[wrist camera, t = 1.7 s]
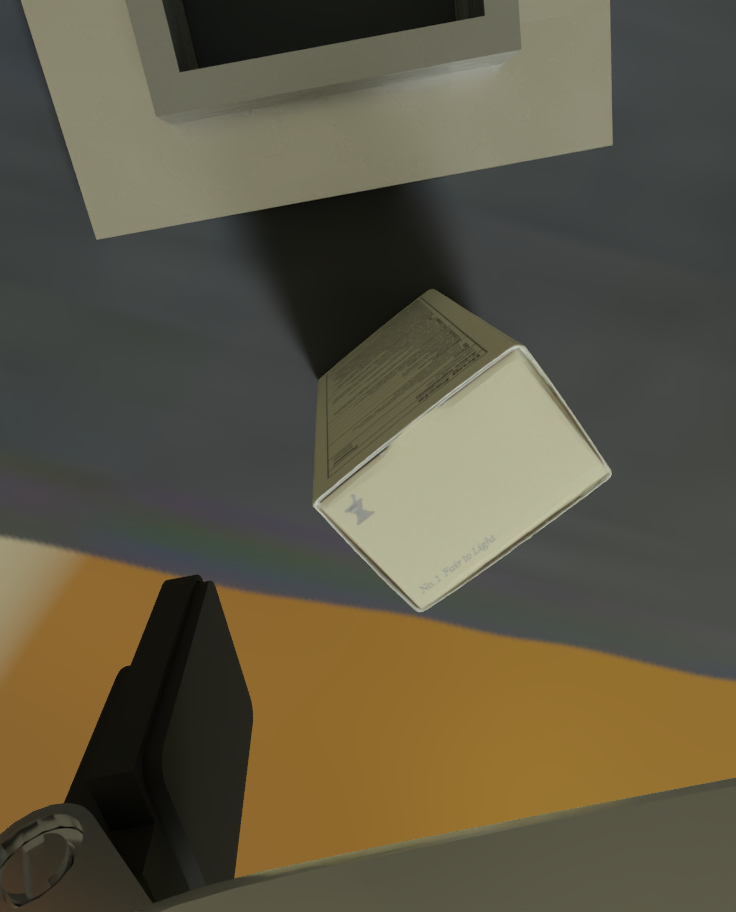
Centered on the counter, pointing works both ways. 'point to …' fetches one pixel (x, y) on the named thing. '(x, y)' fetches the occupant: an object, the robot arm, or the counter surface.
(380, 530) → the skincare box
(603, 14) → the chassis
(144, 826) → the robot arm
